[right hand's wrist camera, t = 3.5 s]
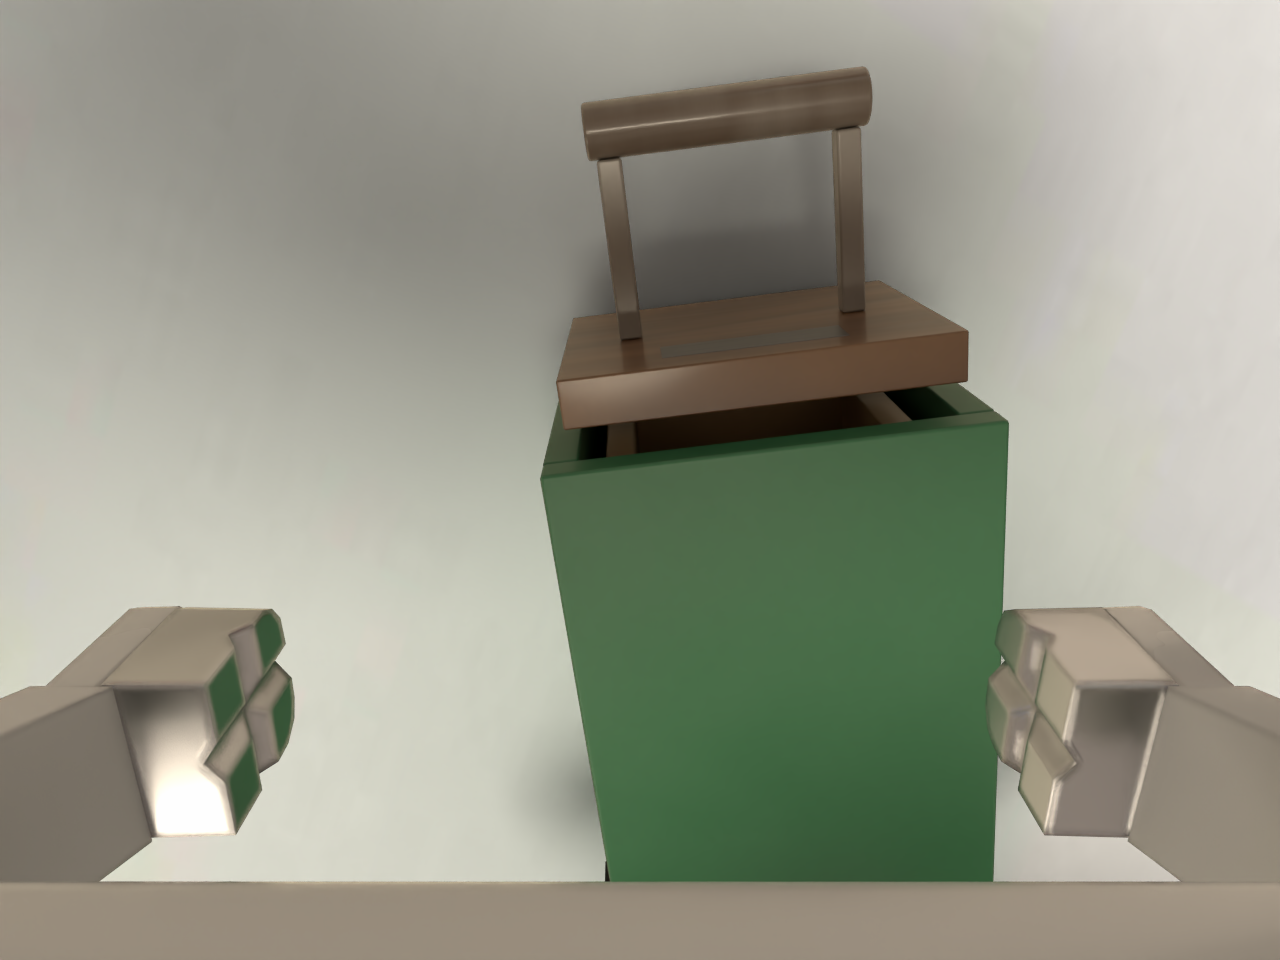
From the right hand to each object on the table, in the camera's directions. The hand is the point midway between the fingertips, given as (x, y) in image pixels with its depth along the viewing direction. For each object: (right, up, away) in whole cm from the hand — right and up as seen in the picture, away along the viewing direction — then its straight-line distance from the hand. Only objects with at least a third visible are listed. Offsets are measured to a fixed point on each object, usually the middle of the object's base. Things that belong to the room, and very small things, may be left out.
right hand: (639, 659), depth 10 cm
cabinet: (+4, -4, +22) cm, 23 cm away
